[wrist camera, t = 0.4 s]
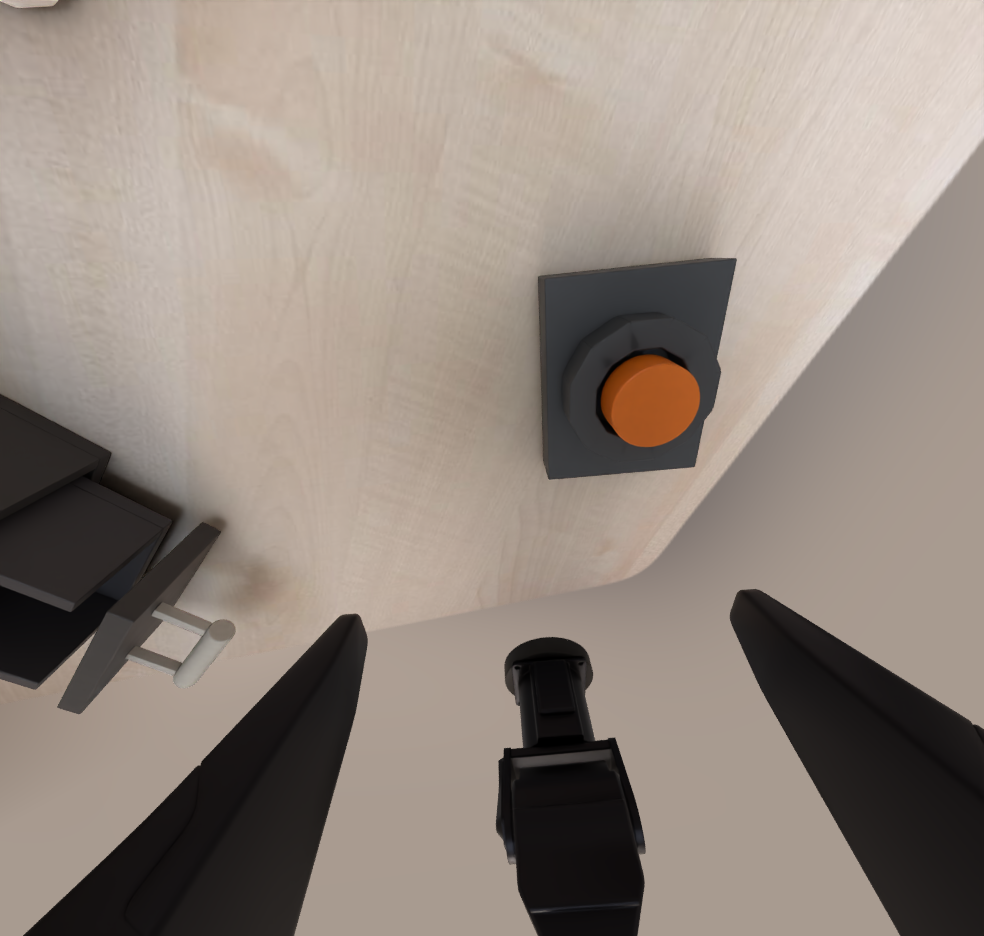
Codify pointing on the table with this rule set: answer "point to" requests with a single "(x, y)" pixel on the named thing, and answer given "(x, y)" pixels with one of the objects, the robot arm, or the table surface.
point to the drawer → (96, 591)
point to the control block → (625, 356)
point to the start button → (650, 400)
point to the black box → (40, 457)
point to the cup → (29, 3)
